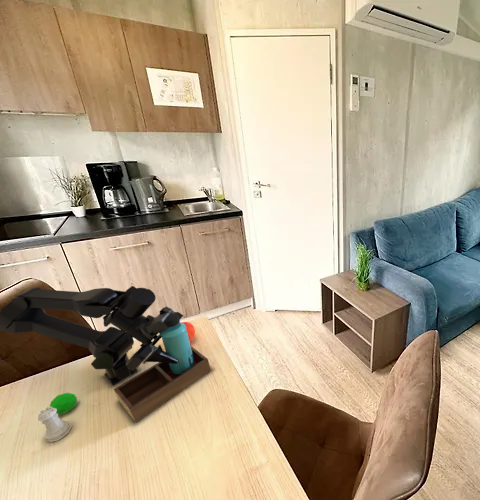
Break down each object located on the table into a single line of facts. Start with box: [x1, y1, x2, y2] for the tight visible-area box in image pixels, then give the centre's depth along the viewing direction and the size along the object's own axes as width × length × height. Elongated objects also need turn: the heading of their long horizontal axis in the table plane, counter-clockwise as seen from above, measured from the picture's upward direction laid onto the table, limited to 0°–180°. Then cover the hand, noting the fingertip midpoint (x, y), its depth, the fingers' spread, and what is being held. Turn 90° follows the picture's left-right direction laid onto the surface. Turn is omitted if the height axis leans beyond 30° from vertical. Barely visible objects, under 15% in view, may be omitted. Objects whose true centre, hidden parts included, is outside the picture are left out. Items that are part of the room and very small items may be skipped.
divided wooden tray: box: [113, 344, 212, 424], centre depth 81 cm, size 11×20×5 cm, turn 146°
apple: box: [180, 321, 196, 343], centre depth 97 cm, size 8×8×8 cm
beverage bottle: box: [159, 313, 195, 374], centre depth 82 cm, size 6×7×20 cm
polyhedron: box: [49, 392, 78, 415], centre depth 74 cm, size 5×5×5 cm
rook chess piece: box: [37, 406, 72, 443], centre depth 68 cm, size 4×4×8 cm
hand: (182, 354), depth 83 cm, fingers closed on beverage bottle, 5 cm apart
